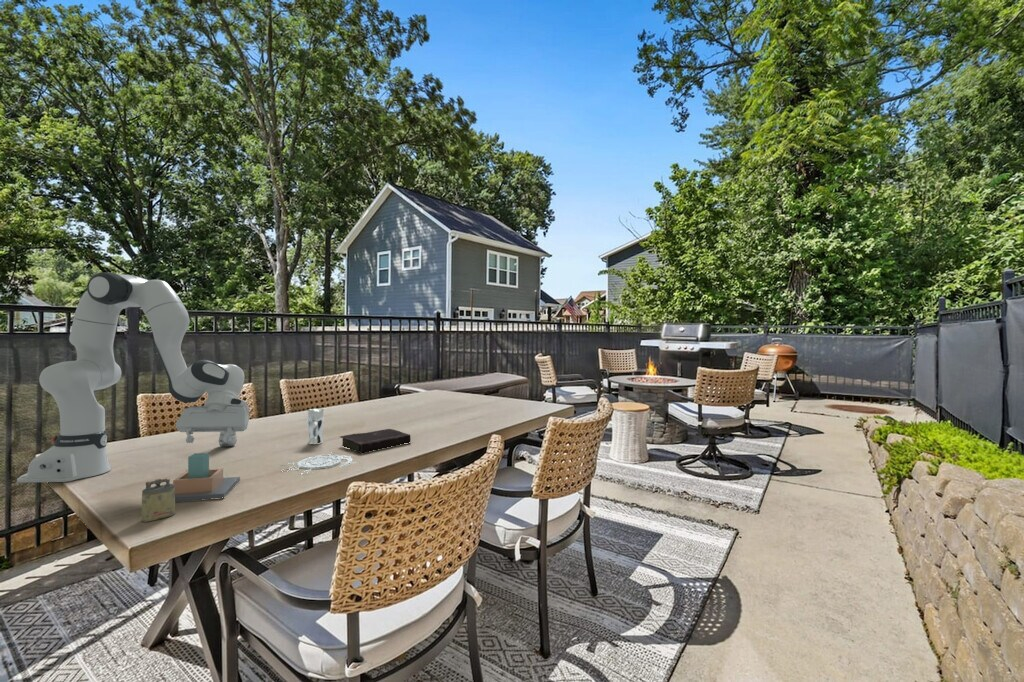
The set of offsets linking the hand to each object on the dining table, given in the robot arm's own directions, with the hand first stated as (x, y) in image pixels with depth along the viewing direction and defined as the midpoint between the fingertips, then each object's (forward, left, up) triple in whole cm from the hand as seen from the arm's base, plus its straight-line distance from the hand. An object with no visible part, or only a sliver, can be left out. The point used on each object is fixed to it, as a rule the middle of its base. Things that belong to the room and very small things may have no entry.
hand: (205, 441), depth 141 cm
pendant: (+31, +19, -15) cm, 40 cm away
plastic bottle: (-9, +55, -15) cm, 57 cm away
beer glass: (+26, +53, -15) cm, 60 cm away
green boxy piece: (-3, -23, -15) cm, 28 cm away
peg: (0, -4, -13) cm, 14 cm away
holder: (0, -4, -14) cm, 15 cm away
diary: (+52, +44, -15) cm, 70 cm away
